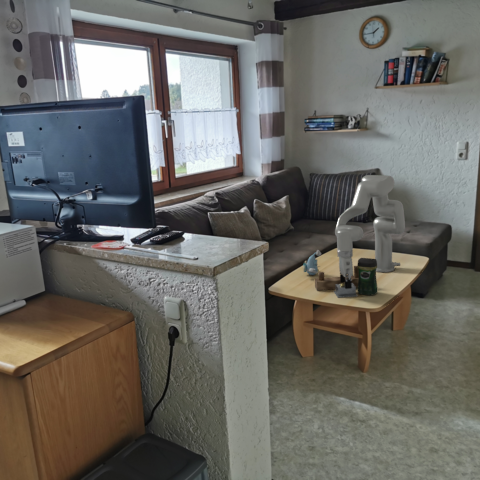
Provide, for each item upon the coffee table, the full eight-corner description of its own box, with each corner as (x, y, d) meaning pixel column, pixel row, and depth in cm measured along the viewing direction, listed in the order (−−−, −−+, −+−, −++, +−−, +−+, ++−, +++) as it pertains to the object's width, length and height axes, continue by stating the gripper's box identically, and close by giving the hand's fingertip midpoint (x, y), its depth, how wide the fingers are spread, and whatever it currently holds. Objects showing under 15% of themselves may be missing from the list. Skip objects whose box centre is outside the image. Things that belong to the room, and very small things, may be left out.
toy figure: (321, 279, 277) (320, 253, 273) (302, 279, 279) (301, 254, 276) (322, 270, 293) (321, 246, 289) (304, 270, 295) (303, 246, 291)
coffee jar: (379, 292, 251) (379, 257, 247) (374, 296, 245) (374, 261, 240) (360, 289, 256) (360, 255, 252) (355, 294, 250) (355, 259, 246)
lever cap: (352, 290, 254) (352, 281, 253) (355, 294, 248) (355, 284, 247) (335, 291, 254) (335, 282, 253) (338, 295, 248) (338, 286, 247)
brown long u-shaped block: (362, 283, 265) (362, 264, 263) (365, 287, 259) (365, 267, 257) (315, 287, 264) (314, 267, 262) (317, 290, 258) (316, 271, 256)
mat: (352, 290, 256) (352, 289, 255) (357, 296, 247) (357, 295, 247) (333, 291, 255) (333, 290, 255) (337, 297, 247) (337, 296, 246)
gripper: (357, 257, 238) (357, 290, 242) (347, 248, 255) (348, 279, 259) (341, 258, 238) (342, 291, 242) (333, 249, 255) (334, 280, 259)
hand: (345, 285), depth 250 cm, fingers open, 9 cm apart
